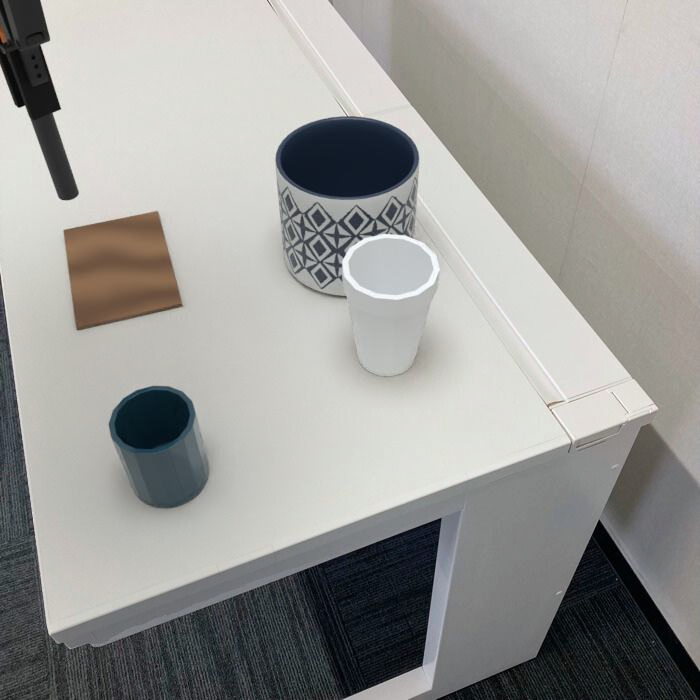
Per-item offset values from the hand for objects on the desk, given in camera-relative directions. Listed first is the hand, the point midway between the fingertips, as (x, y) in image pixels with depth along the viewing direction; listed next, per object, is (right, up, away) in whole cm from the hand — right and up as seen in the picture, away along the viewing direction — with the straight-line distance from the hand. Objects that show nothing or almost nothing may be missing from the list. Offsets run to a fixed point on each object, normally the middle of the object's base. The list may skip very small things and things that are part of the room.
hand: (37, 106), depth 69 cm
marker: (0, -6, +7) cm, 10 cm away
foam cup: (+32, -22, +16) cm, 42 cm away
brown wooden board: (0, -12, +25) cm, 28 cm away
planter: (+28, -10, +27) cm, 40 cm away
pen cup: (+11, -34, +5) cm, 36 cm away
